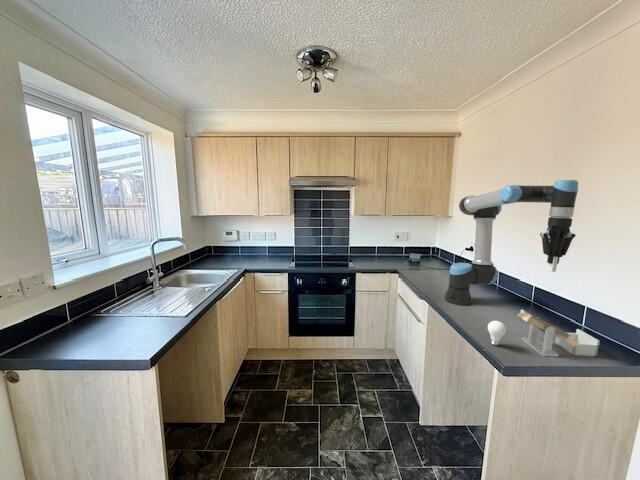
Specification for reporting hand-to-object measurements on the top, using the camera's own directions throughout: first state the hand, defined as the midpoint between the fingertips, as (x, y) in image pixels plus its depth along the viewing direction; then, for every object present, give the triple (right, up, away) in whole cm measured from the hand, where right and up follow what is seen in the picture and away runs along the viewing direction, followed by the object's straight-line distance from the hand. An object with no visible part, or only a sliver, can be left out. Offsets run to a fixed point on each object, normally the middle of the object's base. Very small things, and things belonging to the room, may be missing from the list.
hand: (551, 270), depth 115 cm
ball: (+6, -31, -3) cm, 32 cm away
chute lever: (-8, -24, 0) cm, 25 cm away
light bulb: (-25, -33, 0) cm, 41 cm away
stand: (-7, -33, -2) cm, 34 cm away
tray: (+7, -33, -3) cm, 34 cm away
